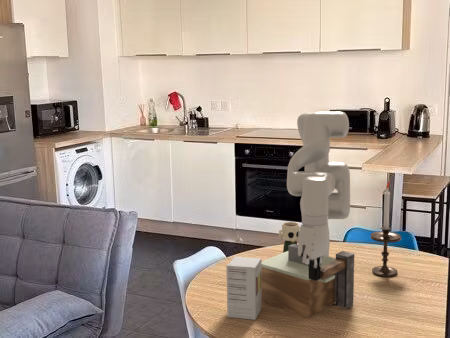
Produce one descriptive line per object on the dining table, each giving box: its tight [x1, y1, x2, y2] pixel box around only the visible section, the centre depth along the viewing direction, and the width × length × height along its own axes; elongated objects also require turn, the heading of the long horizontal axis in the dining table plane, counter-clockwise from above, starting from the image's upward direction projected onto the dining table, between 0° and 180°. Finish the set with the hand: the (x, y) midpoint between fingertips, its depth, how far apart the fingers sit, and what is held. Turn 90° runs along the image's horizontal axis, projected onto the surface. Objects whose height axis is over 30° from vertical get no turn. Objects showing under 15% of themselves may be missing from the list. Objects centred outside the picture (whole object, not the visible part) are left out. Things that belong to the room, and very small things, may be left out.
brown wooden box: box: [261, 250, 355, 318], centre depth 183 cm, size 20×26×17 cm
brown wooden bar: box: [321, 258, 346, 280], centre depth 174 cm, size 17×3×2 cm, turn 136°
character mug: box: [278, 221, 301, 253], centre depth 230 cm, size 11×7×13 cm, turn 115°
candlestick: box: [370, 179, 402, 278], centre depth 205 cm, size 11×11×35 cm
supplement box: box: [225, 256, 263, 321], centre depth 175 cm, size 10×9×17 cm
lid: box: [261, 243, 336, 283], centre depth 182 cm, size 20×25×6 cm
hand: (314, 278), depth 166 cm, fingers closed
